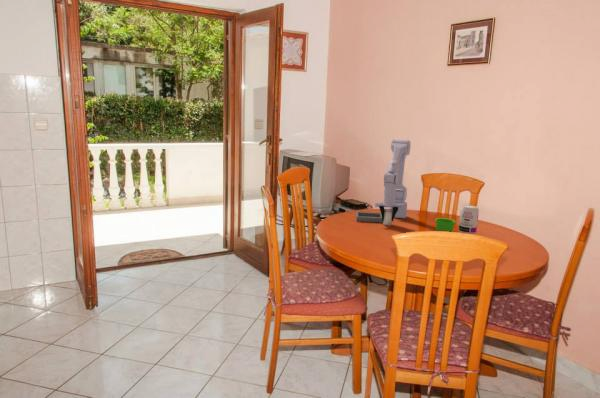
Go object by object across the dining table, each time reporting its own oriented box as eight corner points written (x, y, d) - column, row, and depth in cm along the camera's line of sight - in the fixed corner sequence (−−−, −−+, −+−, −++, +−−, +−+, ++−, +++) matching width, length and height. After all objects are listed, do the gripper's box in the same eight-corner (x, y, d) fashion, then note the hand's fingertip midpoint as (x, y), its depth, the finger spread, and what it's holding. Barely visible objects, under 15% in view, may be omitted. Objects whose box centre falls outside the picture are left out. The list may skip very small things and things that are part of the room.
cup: (456, 246, 191) (458, 223, 189) (435, 246, 191) (438, 222, 189) (449, 241, 200) (452, 218, 198) (430, 240, 200) (432, 217, 198)
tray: (380, 217, 241) (380, 213, 241) (382, 222, 230) (383, 218, 229) (355, 216, 242) (356, 211, 242) (356, 221, 231) (357, 216, 230)
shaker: (390, 223, 229) (392, 208, 227) (391, 225, 224) (393, 210, 223) (382, 223, 229) (383, 208, 227) (383, 225, 225) (384, 210, 223)
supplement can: (472, 234, 213) (476, 205, 210) (477, 239, 205) (481, 209, 202) (456, 233, 213) (459, 204, 210) (460, 238, 205) (463, 208, 202)
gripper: (376, 196, 220) (374, 221, 223) (404, 197, 219) (402, 223, 222) (375, 193, 227) (373, 218, 230) (402, 195, 226) (400, 219, 229)
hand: (387, 220), depth 226 cm, fingers closed on shaker, 4 cm apart
